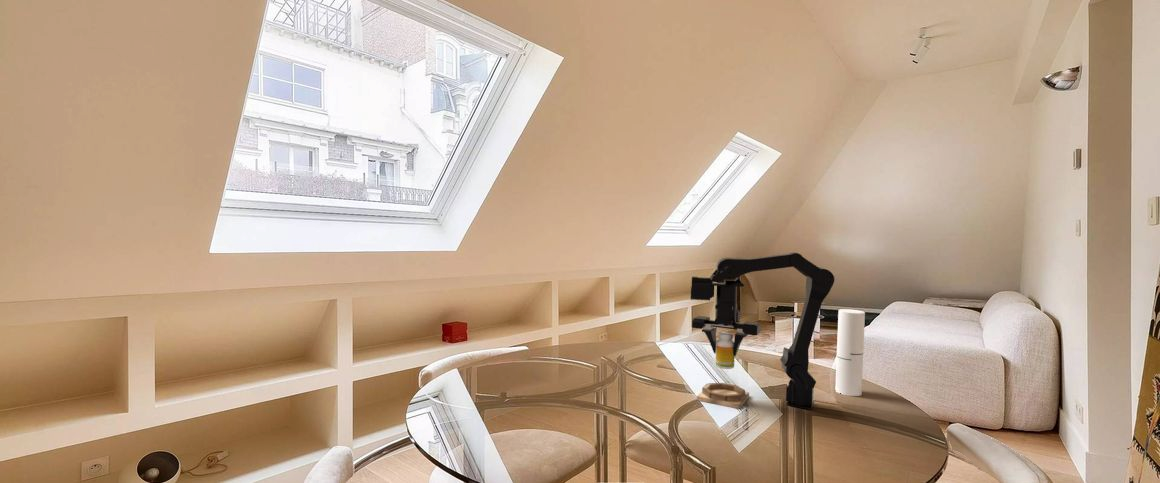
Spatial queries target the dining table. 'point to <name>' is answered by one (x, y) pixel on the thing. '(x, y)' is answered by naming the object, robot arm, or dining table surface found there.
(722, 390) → the hub plate
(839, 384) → the cylindrical container
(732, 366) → the supplement bottle
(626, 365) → the dining table surface
